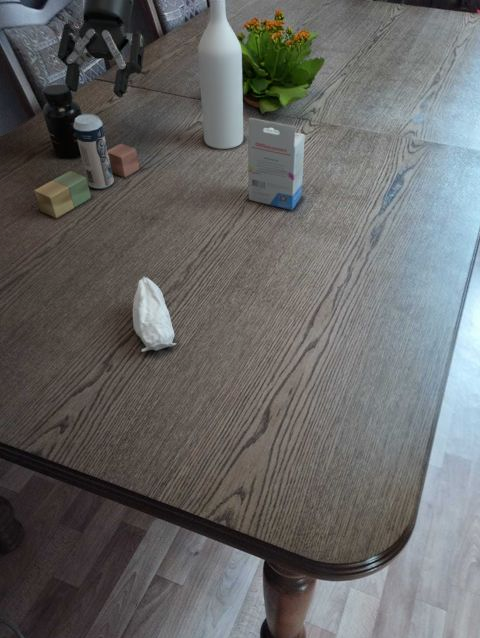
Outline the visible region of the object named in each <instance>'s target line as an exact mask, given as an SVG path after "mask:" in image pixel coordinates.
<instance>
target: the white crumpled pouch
mask: <svg viewBox="0 0 480 638" xmlns="http://www.w3.org/2000/svg"><path fill="white" fill-rule="evenodd" d="M166 304H167V303H166V301H165V297H164V295H163V292H162V290H161V289H160V287H159V286H158V285H157V284H156V283H155V282H154V281H152V280H151V279H150V278H149V277H146V276H145V275H143V277H142V278H141V279H139V280H138V284H137V286H136V291H135V292H134V296H133V301H132V323H133V329H134V332H135V334H136V336H137V337H139V338H140V340H141V342H142V343H143V344H144V346H145V347H144V348H142V349H141V352H142V353H143V352H146V351H156V352H157V351H160V350H162V349H165V348H171V347H174V346H176V345H177V342H174V339H175V336H176V335H175V331H174V327H173V323H172V319H171V315H170V311H169V309H168V307H167V305H166Z"/></svg>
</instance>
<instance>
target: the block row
mask: <svg viewBox="0 0 480 638" xmlns="http://www.w3.org/2000/svg"><path fill="white" fill-rule="evenodd" d="M107 151H108V155H109V160H110V165H111V170H112V174H115V175H117V176H120V177H122V178H127V177H129V176H131V175H132V174H133V173H134V174H135V172H137V171H139V170H140V164H139V157H138V151H137V148H134V147H133V146H128V145H126V144H123V143H119V144H117V145H115V146H114V147H113V146H112V148H110V149H107ZM33 193H34V194H35V197H36V201H37V204H38V207H39V210H40V212H41V213H44V214H45V215H48V216H51V217H52V218H55V219H58V218H60V217H61V216H63V215H65V214H66V213H68V212H70V211H72V210H73V209H75V208H77V207H79V206H80V205H82V204H83V203H85V202H87V201H89V200H90V199H91V198H92V196H91V191H90V186H89V185H88V182H87V178H86V176H84V175H82V174H79V173H77V172H74V171H73V170H69V171H67V172H65V173H64V174H62V175H60V176H57V177H56V178H54V179H52V180H50V181H49V182H47V183H45V184H43V185H41V186H40V187H39V186H38V188H36V189H34V190H33Z"/></svg>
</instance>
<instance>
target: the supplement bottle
mask: <svg viewBox="0 0 480 638" xmlns="http://www.w3.org/2000/svg"><path fill="white" fill-rule="evenodd" d="M42 91H43V96H44V100H45V104H44V106H43V108H42V113H43V118H44V120H45V124H46V128H47V131H48V135H49V138H50V142H51V146H52V149H53V152H54V154H55V155H56V156H57V157H60V158H63V159H75V158H78V157H81V153H80V149H79V145H78V141H77V137H76V133H75V129H74V122H75V118H76V117H78V116H79V115H83V114H82V109H81V106H80V104H79V103H78V102H77V101H76V100H74V97H73V96H74V95H73V94H72V91H71V90H70V89H69V88H68V87H67V85H66V84H62V83H59V84H58V83H55V84H51V85H48V86H46V87H44V88H43V90H42Z"/></svg>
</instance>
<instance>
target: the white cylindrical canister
mask: <svg viewBox="0 0 480 638" xmlns="http://www.w3.org/2000/svg"><path fill="white" fill-rule="evenodd" d="M103 126H104V125H103V121H102V120H101V118H100V117H99V116H98V115H97V114H94V113H83V114H82V115H79V116H78V117H76V118H75V122H74V129H75V133H76V137H77V141H78V145H79V149H80V153H81V156H80V157H81V161H82V165H83V169H84V173H85V177H86V179H87V183H88V187H90V188H93V189H97V190H101V189H107V188H109V187H110V186H112V184H114V181H115V178H114V176H113V173H112V170H111V165H110V160H109V155H108V146H107V141H106V136H105V132H104V127H103Z"/></svg>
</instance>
